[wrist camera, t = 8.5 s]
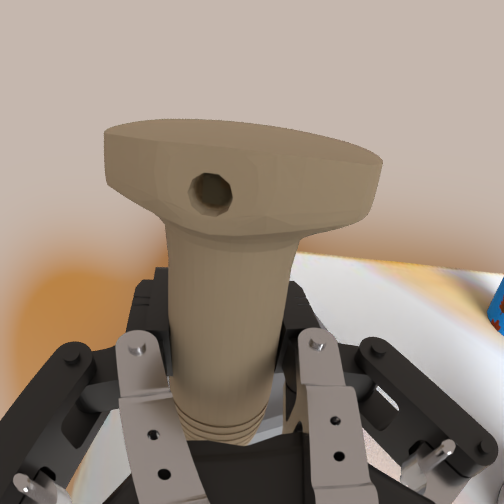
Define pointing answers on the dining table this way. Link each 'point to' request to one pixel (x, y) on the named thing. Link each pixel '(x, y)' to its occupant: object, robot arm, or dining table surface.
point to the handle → (233, 246)
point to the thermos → (497, 309)
